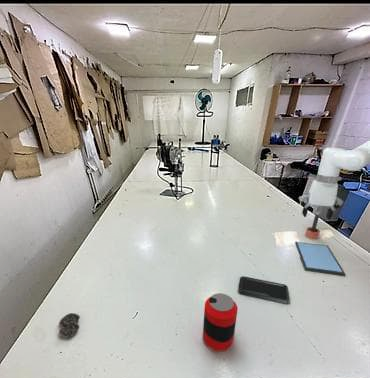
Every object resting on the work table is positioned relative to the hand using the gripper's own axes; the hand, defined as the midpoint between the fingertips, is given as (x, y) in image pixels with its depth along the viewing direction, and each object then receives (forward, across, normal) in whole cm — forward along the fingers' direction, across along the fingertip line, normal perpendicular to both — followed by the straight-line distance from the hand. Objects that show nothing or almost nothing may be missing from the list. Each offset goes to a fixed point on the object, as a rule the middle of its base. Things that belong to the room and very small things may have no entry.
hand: (316, 216), depth 104 cm
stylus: (+10, 0, 0) cm, 10 cm away
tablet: (+10, +2, +18) cm, 21 cm away
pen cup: (+10, 0, 0) cm, 10 cm away
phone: (+10, +24, +43) cm, 50 cm away
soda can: (+10, +36, +64) cm, 74 cm away
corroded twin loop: (+11, +74, +70) cm, 102 cm away
